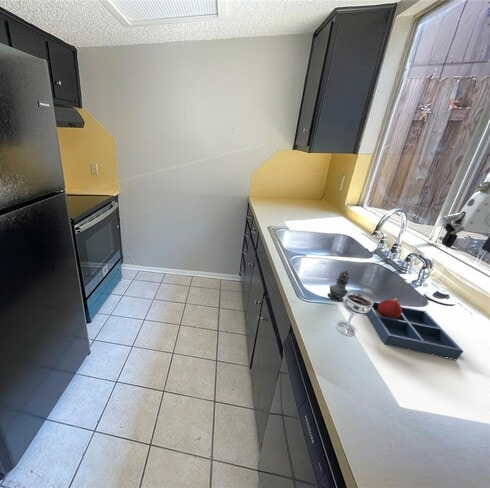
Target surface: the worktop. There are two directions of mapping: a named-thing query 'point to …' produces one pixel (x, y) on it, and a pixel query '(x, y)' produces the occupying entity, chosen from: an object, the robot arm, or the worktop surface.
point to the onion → (390, 308)
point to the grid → (413, 332)
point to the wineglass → (354, 309)
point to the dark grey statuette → (339, 287)
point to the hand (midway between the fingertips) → (465, 248)
